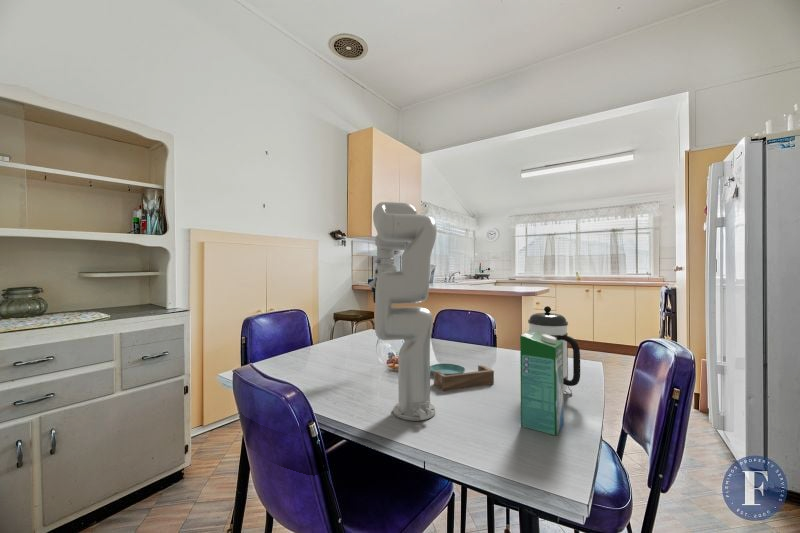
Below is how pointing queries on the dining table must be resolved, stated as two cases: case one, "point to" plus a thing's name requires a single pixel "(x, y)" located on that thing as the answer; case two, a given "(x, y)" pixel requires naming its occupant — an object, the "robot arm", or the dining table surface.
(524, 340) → the milk carton
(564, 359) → the coffee press
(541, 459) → the dining table surface
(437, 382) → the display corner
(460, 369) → the saucer
